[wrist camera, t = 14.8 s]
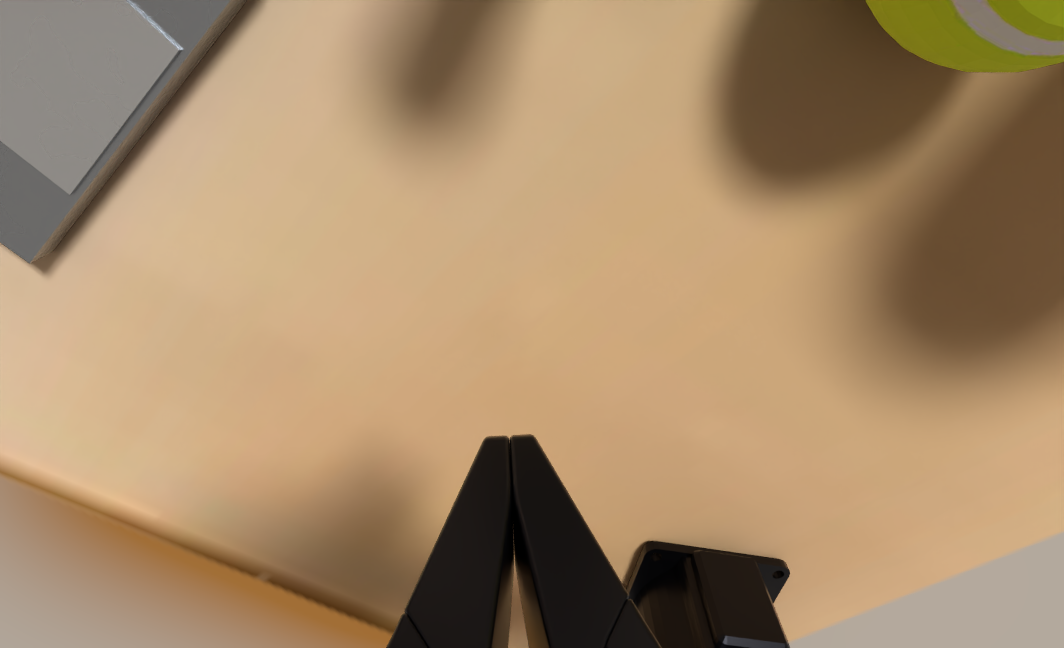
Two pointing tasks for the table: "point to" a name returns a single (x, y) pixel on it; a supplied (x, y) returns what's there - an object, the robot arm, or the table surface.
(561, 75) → the table surface
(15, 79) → the rail
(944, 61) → the tennis ball
